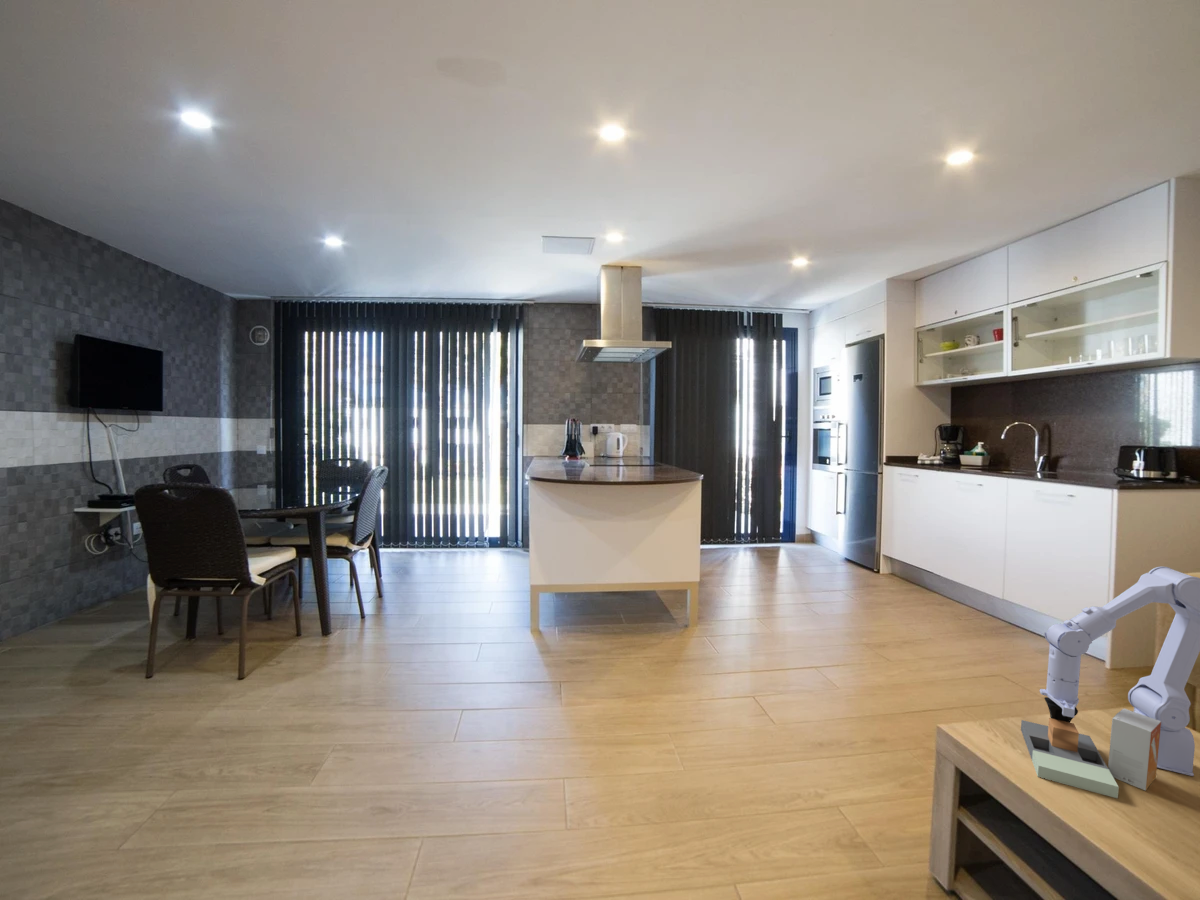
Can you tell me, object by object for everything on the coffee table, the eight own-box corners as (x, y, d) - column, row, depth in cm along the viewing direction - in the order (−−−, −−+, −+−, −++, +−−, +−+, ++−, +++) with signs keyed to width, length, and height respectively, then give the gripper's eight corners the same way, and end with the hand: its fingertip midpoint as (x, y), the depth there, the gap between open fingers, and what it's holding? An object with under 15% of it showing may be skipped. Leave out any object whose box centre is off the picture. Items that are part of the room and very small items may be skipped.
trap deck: (1088, 746, 130) (1089, 735, 130) (1117, 798, 112) (1118, 786, 112) (1020, 729, 137) (1021, 719, 137) (1037, 776, 119) (1038, 765, 118)
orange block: (1072, 742, 128) (1073, 723, 127) (1077, 752, 124) (1078, 733, 123) (1047, 736, 130) (1049, 717, 129) (1051, 745, 126) (1053, 727, 126)
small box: (1146, 792, 114) (1151, 732, 114) (1106, 775, 120) (1111, 717, 119) (1157, 778, 119) (1162, 720, 118) (1117, 762, 124) (1122, 707, 123)
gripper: (1035, 660, 137) (1031, 713, 138) (1048, 684, 125) (1043, 742, 126) (1072, 667, 134) (1067, 721, 135) (1088, 693, 121) (1083, 752, 122)
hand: (1058, 732), depth 130 cm, fingers closed
